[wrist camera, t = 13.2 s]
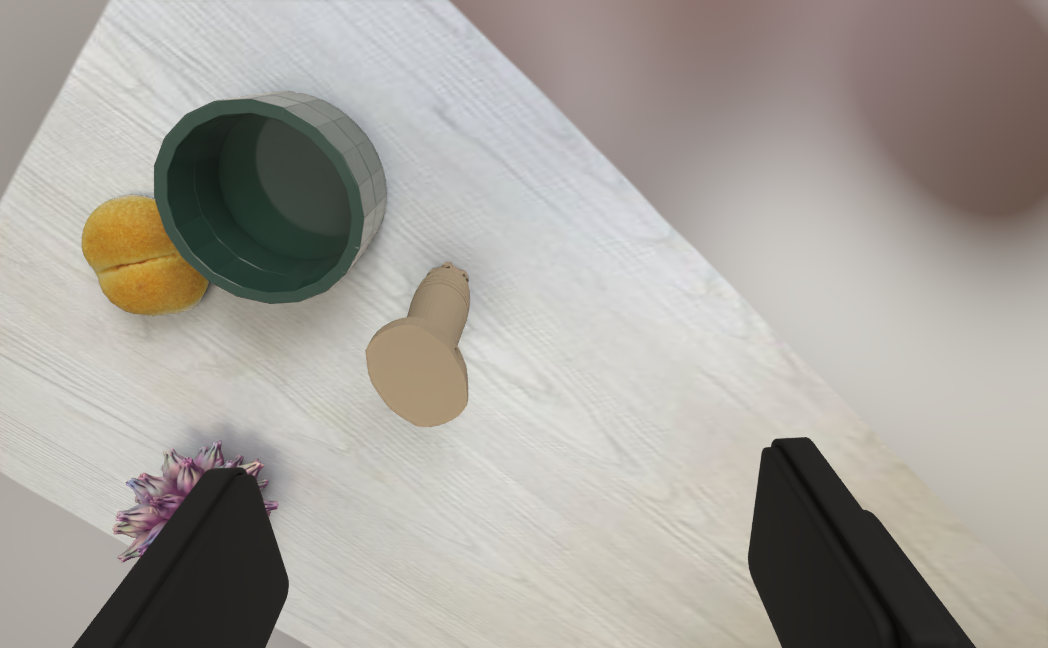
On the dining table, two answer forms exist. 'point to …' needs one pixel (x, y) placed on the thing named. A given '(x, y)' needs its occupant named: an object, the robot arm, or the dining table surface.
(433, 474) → the dining table surface
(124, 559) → the flower
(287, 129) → the pot
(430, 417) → the handle
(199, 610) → the robot arm
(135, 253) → the bread roll
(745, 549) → the dining table surface
